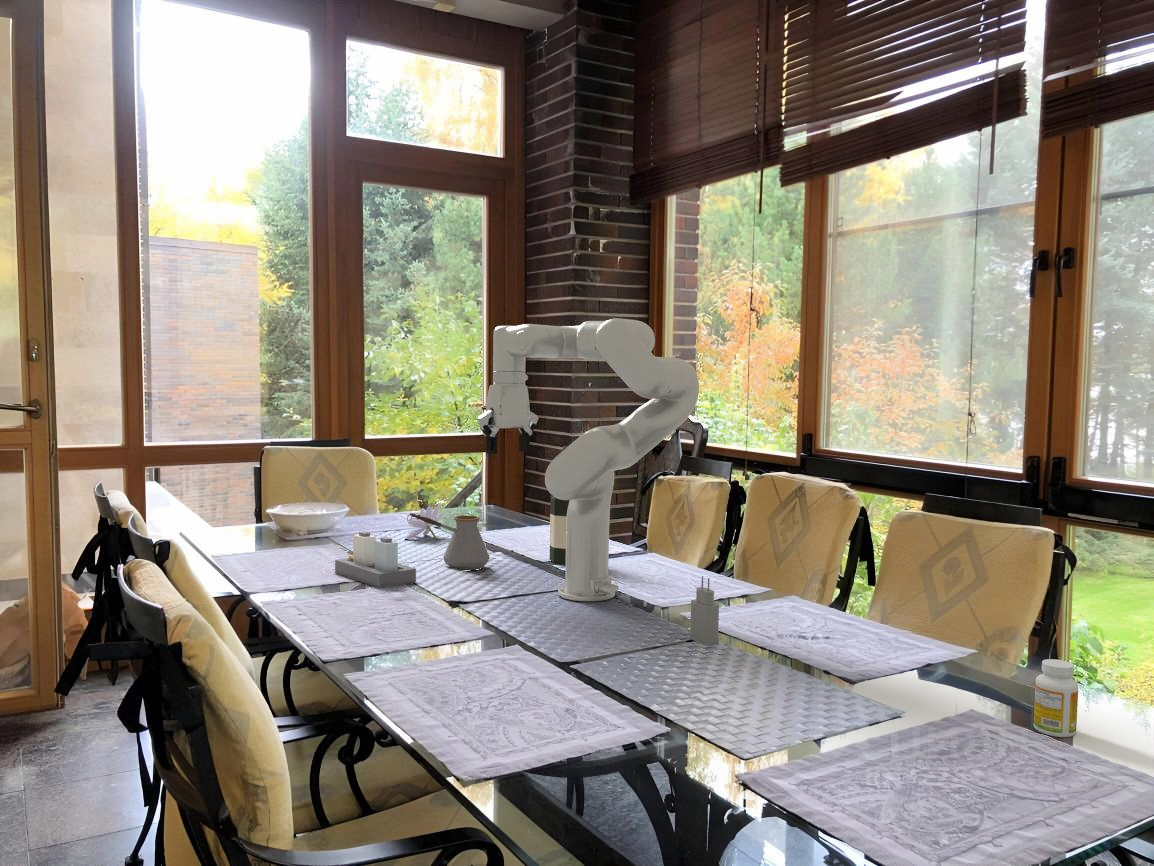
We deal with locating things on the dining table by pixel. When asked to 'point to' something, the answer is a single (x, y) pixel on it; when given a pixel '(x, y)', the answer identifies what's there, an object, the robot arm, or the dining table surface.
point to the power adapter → (704, 617)
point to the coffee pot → (462, 543)
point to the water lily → (423, 525)
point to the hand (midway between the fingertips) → (508, 452)
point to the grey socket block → (375, 573)
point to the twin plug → (364, 548)
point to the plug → (386, 554)
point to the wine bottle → (558, 529)
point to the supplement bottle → (1056, 699)
